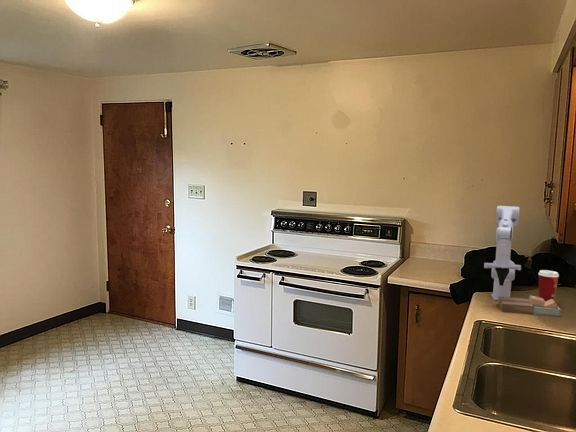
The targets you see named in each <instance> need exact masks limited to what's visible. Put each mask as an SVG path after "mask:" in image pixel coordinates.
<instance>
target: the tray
mask: <svg viewBox="0 0 576 432" xmlns="http://www.w3.org/2000/svg"><path fill="white" fill-rule="evenodd" d="M532 305H533V306H534V310H533V315H539V316H549V317H561V312H562V310H561V308H560V307H559V306H558V307H557V308H555V309H553V308H543V307H542V306H538V305H534V304H532Z"/></svg>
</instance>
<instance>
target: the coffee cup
mask: <svg viewBox="0 0 576 432" xmlns="http://www.w3.org/2000/svg"><path fill="white" fill-rule="evenodd" d="M537 275H538V297H540V298H543V299H544V300H545V302H546V301H548V300H550V299H553V300H554V301H556V300H555V299H556V295H557V293H556V292H557V287H558V280H559V277H560V274H559V272H557V271H554V270H548V269H540V270H539V272H538V274H537Z"/></svg>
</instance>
